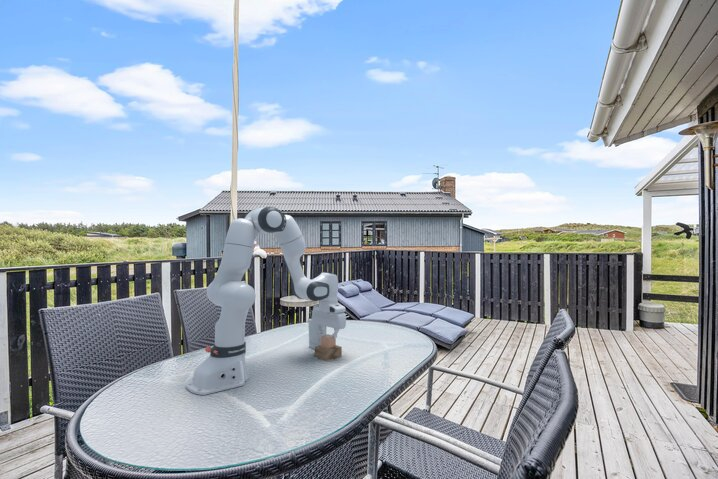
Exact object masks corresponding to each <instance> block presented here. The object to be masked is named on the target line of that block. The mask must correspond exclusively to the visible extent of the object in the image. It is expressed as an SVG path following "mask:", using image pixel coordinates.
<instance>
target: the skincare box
mask: <svg viewBox="0 0 718 479" xmlns="http://www.w3.org/2000/svg"><path fill="white" fill-rule="evenodd" d="M311 319H312V318H309V319H308V345H309V346H308V347H309V349H313V350H315V347H316V346H319V345H321V336H324V335H327V333H328V332H327V326H323V325H322V326H321V327H322V330H323V334H319V330H318V328H317V324H314V323H312V321H311Z"/></svg>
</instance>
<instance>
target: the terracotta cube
mask: <svg viewBox="0 0 718 479" xmlns="http://www.w3.org/2000/svg"><path fill="white" fill-rule="evenodd" d="M336 339H337V338H333V337H332V334H329V333H328V334H327V335H324V336H321V347H323V348H327V349H330V348H333V347H336V345H337V344H336V343H337V340H336Z"/></svg>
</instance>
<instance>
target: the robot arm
mask: <svg viewBox="0 0 718 479" xmlns="http://www.w3.org/2000/svg"><path fill="white" fill-rule="evenodd" d="M282 212H283V211H281V210H280V209H279V208H276V207H275V206H266V207H265V206H263V207H261V206H259V207H257V208H253V209H251V210H249V211H248V212H246V214H245V215H244V217H242V218H240V217H239V218H235V219H234V220H232V221H231V222H230V225H229V228H228V230H227V232H226V237H225V241H224V247H223V251H222V254H221V255H222V256H221V262H220V264H219V267H218V270H217V272H216V275H215V276H214V278H213V280H212V281H211V282H210V284H208V286H207V287H206V297H207V299H208V300H209V301H210V302H211V303H212V304H213V305H215V306H218V307H221V311H220V315H219V319H218V321H216V323H215V325H214V344H213V345H212V347H211V346H206V347H205V348H204V351H205V352H207V353H210V354H209V356H208V357H206V359H205V360H204V361H203V362H202V363H200V364H199V365H198V366H197V367H196V368H195V370H194V371H193V376H192V380H190V381H188V382H186V385H185V388H186V390H188V391H189V392H191V393H192V394H196V395H200V396H205V395H210V394H213V393H217V392H221V391H227V390H231V389H234V388H238V387H243V386H244V385H245V383H246V382H247V381H248V380H249V373H248V369H247V365H246V351H247V349H246V348H247V345H246V342H247V341H246V340H245V339H246V338H245V337H246V336H245V334H246V320H247V316H248V313H249V310H250V308H251V307H252V306H253V305H254V304H255V302H256V297H257V296H256V295H257V294H256V290H255V289H254V288H253V286H251V285H249V284H248V283H247V282H243V281H242V279H243V277H244V275H245V273H247V272H246V271H248V270H249V269H250V268H251V262H252V259H253V252H254V244H255V240H256V237H257V235H259V234H262V235H266V234H273V236H274V237H275V238H276V240H277V243H278V245H279V247H280V250H281V252H282V255H283V258H284V262H285V266H286V269H287V271H288V273H289V277H290V279H291V287H292V289H291V290H292V294H293V295H294V296H295V297H296V298H297V299H299V300H306V301H311V302H317V301H318V304H317V303H316V304H314V306H313V307H312V312H311V318H310V319H311V321H312V323H314V324H317V328H318V330H319V334H323V330H322V327H321V326H322V325H323V326H326V328H327V327H328V328H331V329H333V331H334V332H333V333H332V334H331V335H332V337H333V338H336V339H337V338H338V333H339V331H340V330H344V329H345V328H346V326H347V316H346V313H345V312H346V311H347V310H346V307H345V306H344V305H342V304H341V303H340V302H339V299H338V291H339V279H338V276H337V274H335V273H332V272H327V271H323V272H321V273H320V274H319V275H318V276H316V277H315V278H312V279H310V278H308V277H307V276H305V273H304V270H303V267H302V264H301V261H300V259H301V257H302V256H303V255H304V254H305V252H306V249H307V245H306V240H305V238H304V236H303V233H302V230H301V228H300V227H299V225H298V223H297V221H296V220H295V219H294V217H293V216H291V215H289V214H283V213H282Z"/></svg>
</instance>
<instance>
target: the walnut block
mask: <svg viewBox="0 0 718 479" xmlns="http://www.w3.org/2000/svg"><path fill="white" fill-rule="evenodd" d="M342 352H343V351H342V346H340V345H337V344H336V347H333V348H330V349H327V348H323V347H321V345H319V346H316V347H315V349H314V357H315V358H317V359H320V360H323V361H326V362H329V361H332V359H333V360H335V359H339V358H342V356H343V355H342V354H343V353H342Z"/></svg>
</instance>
